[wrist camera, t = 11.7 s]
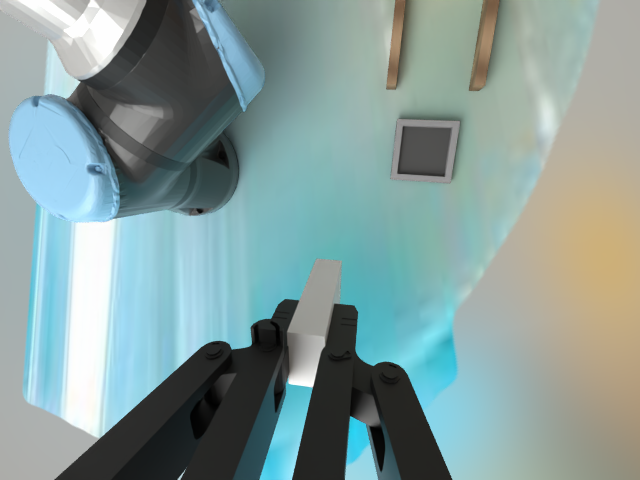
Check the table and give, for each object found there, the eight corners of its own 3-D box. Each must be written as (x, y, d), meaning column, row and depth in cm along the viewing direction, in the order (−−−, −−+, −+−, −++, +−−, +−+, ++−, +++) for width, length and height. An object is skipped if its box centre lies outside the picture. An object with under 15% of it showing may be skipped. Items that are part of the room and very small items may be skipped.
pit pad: (448, 183, 42) (450, 183, 41) (390, 179, 44) (390, 179, 42) (457, 122, 40) (460, 121, 39) (397, 120, 42) (397, 119, 41)
